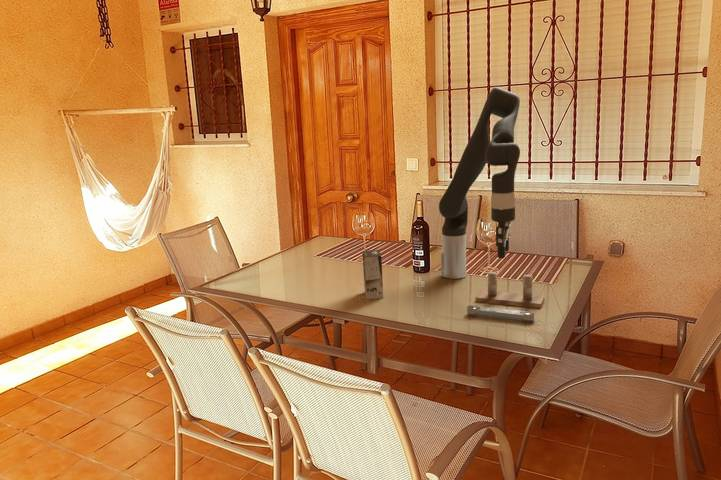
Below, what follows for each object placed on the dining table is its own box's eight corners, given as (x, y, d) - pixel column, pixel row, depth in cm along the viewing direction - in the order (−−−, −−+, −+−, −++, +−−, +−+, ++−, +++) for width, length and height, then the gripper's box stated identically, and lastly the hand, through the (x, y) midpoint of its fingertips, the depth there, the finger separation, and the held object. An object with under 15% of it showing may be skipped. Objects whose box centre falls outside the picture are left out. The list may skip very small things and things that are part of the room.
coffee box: (383, 298, 212) (382, 255, 208) (366, 299, 211) (364, 257, 207) (380, 290, 221) (378, 249, 217) (363, 291, 220) (361, 250, 216)
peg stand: (475, 301, 204) (475, 275, 202) (480, 293, 211) (480, 268, 209) (540, 308, 195) (541, 281, 192) (544, 300, 202) (544, 273, 199)
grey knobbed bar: (465, 316, 191) (465, 309, 191) (469, 311, 195) (469, 304, 195) (532, 324, 182) (533, 316, 182) (535, 319, 186) (535, 311, 186)
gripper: (495, 201, 196) (495, 248, 200) (487, 210, 183) (488, 259, 187) (518, 201, 193) (518, 249, 197) (511, 210, 180) (512, 260, 184)
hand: (503, 254), depth 192 cm, fingers open, 8 cm apart
